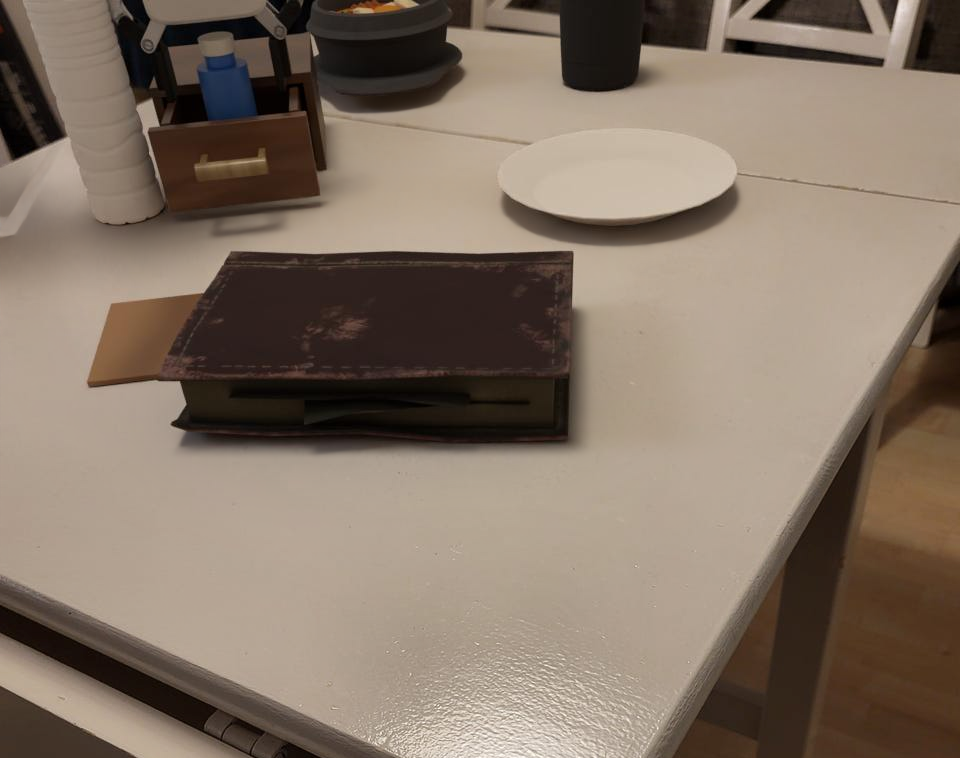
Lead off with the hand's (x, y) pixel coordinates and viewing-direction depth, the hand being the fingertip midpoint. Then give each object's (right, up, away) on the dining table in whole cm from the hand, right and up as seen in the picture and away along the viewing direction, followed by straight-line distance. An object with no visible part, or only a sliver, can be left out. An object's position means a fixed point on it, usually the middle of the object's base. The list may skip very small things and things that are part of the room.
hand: (228, 92), depth 86 cm
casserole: (+11, +17, +30) cm, 36 cm away
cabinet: (-1, +1, +14) cm, 14 cm away
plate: (+34, -9, +1) cm, 36 cm away
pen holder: (+36, +14, +25) cm, 46 cm away
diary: (+16, -30, -19) cm, 39 cm away
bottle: (0, -5, +5) cm, 7 cm away
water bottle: (-11, -9, +5) cm, 15 cm away
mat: (-1, -25, -13) cm, 29 cm away
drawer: (+1, -6, +5) cm, 8 cm away
